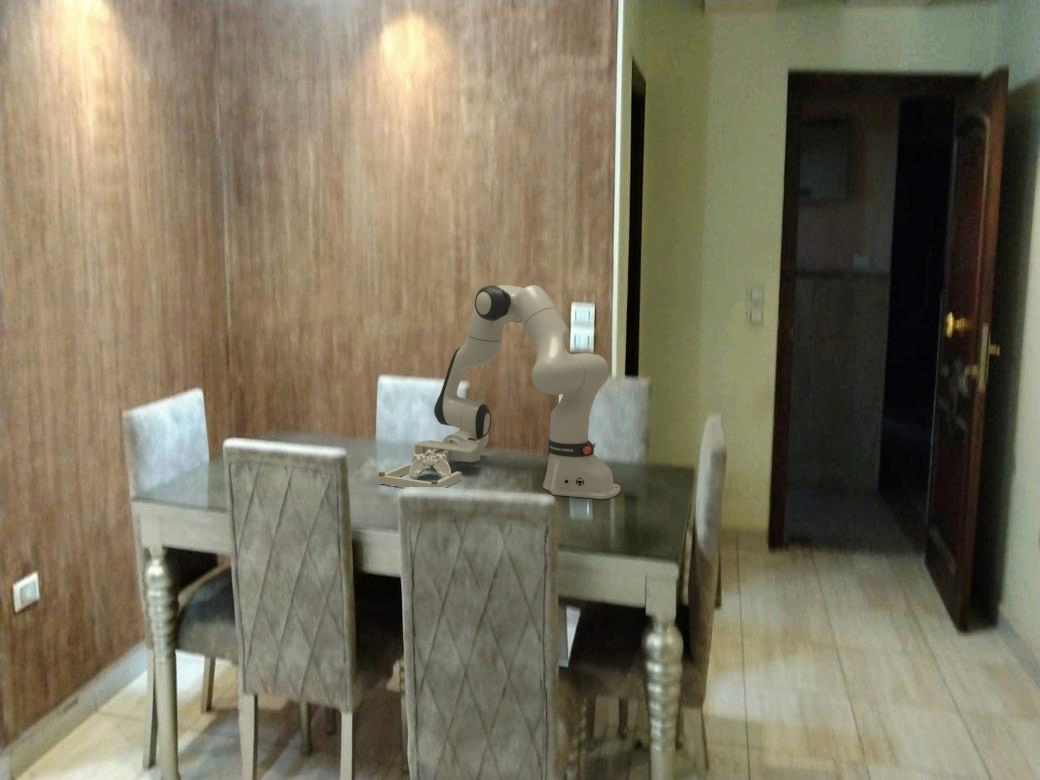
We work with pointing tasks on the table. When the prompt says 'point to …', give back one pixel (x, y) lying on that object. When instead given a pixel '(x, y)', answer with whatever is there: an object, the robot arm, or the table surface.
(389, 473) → the bent beige bar frame
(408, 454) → the table surface
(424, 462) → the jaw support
